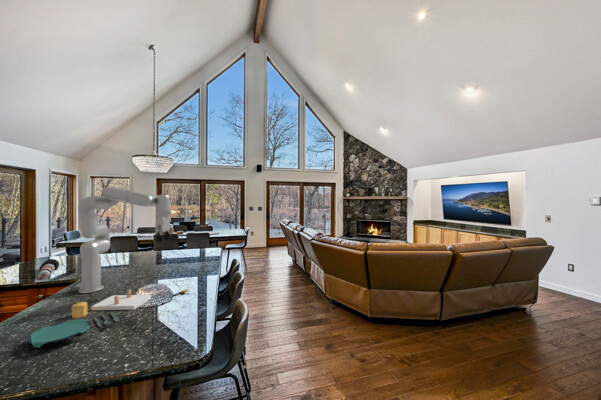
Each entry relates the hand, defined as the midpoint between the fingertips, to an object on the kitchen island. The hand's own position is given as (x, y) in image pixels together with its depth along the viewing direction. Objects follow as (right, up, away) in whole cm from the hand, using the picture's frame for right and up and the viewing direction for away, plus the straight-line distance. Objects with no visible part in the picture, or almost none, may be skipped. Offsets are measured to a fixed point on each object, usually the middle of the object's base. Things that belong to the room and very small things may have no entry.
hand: (163, 240), depth 164 cm
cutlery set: (-11, -32, -51) cm, 61 cm away
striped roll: (-106, -33, +30) cm, 115 cm away
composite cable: (+14, -32, -7) cm, 36 cm away
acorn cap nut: (-22, -32, -37) cm, 53 cm away
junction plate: (-10, -32, -23) cm, 40 cm away
